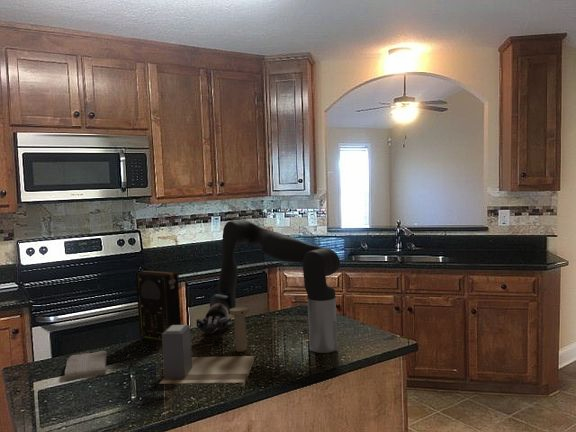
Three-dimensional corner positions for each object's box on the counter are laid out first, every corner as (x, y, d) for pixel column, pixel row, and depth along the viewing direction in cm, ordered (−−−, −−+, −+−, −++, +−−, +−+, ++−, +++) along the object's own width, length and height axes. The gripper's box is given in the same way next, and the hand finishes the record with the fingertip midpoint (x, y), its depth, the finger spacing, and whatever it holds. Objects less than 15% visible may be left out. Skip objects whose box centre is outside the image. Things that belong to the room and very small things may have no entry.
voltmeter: (137, 339, 181) (132, 272, 179) (154, 332, 188) (150, 268, 186) (168, 345, 173) (163, 275, 171) (185, 337, 180) (180, 270, 179)
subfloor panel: (254, 359, 155) (253, 356, 155) (244, 386, 135) (243, 382, 135) (180, 361, 157) (179, 357, 157) (159, 387, 137) (159, 383, 137)
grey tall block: (192, 367, 148) (189, 323, 147) (185, 377, 140) (182, 331, 139) (173, 367, 148) (170, 324, 147) (164, 378, 140) (161, 332, 139)
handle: (253, 353, 161) (251, 308, 160) (235, 357, 158) (233, 312, 157) (247, 349, 165) (245, 305, 164) (229, 353, 162) (227, 308, 161)
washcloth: (107, 356, 166) (106, 347, 165) (107, 375, 149) (106, 365, 149) (69, 362, 162) (68, 353, 161) (64, 382, 145) (63, 372, 144)
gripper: (199, 306, 181) (189, 320, 163) (234, 305, 181) (229, 319, 163) (199, 326, 181) (191, 342, 164) (235, 325, 181) (230, 340, 164)
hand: (210, 330), depth 164 cm, fingers closed
